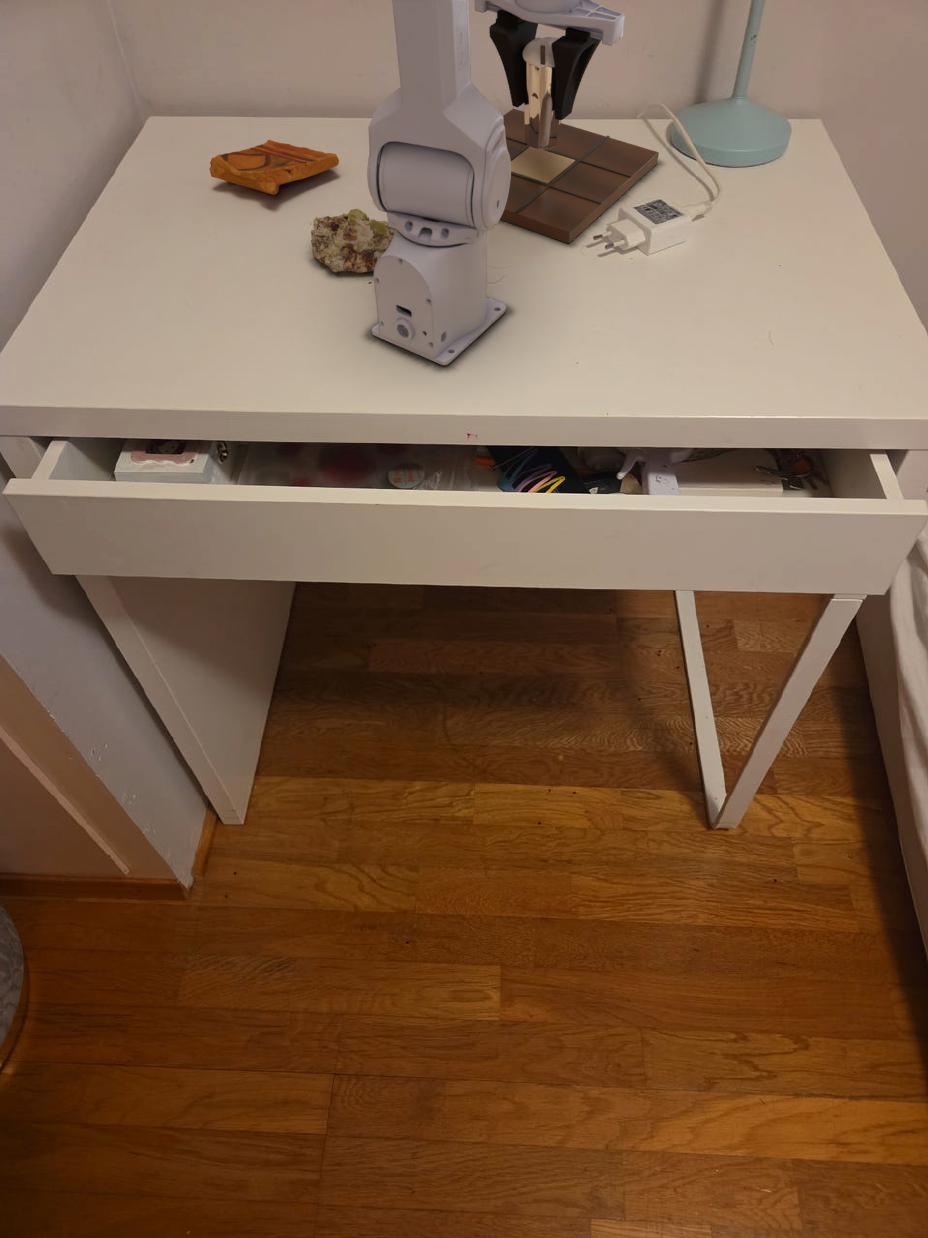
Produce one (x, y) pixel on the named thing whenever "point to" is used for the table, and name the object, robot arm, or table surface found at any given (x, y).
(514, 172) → the board
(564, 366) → the table surface
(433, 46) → the robot arm
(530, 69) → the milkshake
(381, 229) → the mineral rock
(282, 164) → the pottery fragment
